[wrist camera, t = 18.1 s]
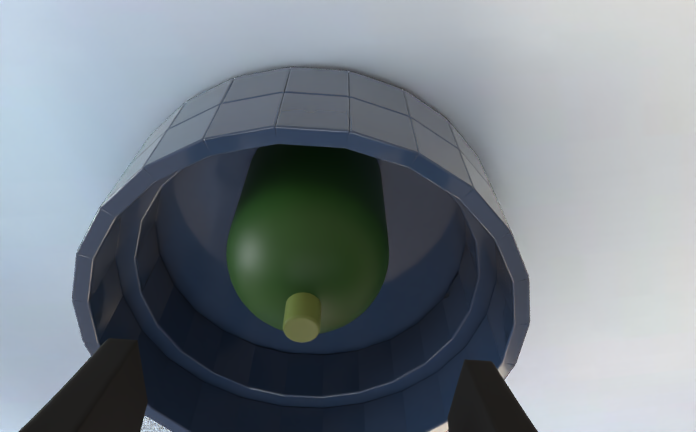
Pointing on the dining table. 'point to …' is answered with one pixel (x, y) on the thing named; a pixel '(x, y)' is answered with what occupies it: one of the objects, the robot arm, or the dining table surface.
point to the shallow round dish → (271, 343)
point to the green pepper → (309, 238)
